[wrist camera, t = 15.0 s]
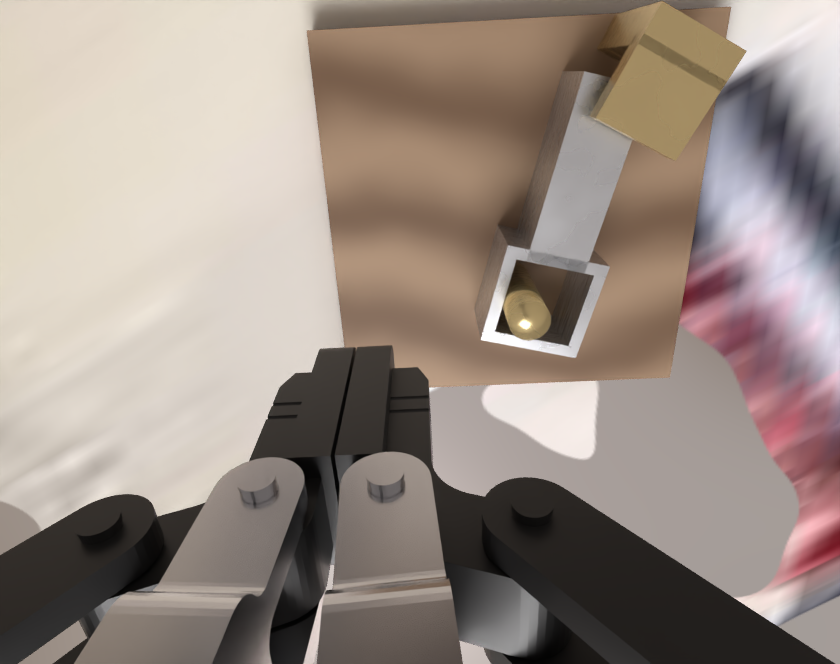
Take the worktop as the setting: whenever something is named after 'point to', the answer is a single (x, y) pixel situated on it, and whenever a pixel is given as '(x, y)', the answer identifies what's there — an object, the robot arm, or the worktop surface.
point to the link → (560, 219)
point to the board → (487, 195)
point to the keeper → (662, 76)
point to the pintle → (525, 306)
